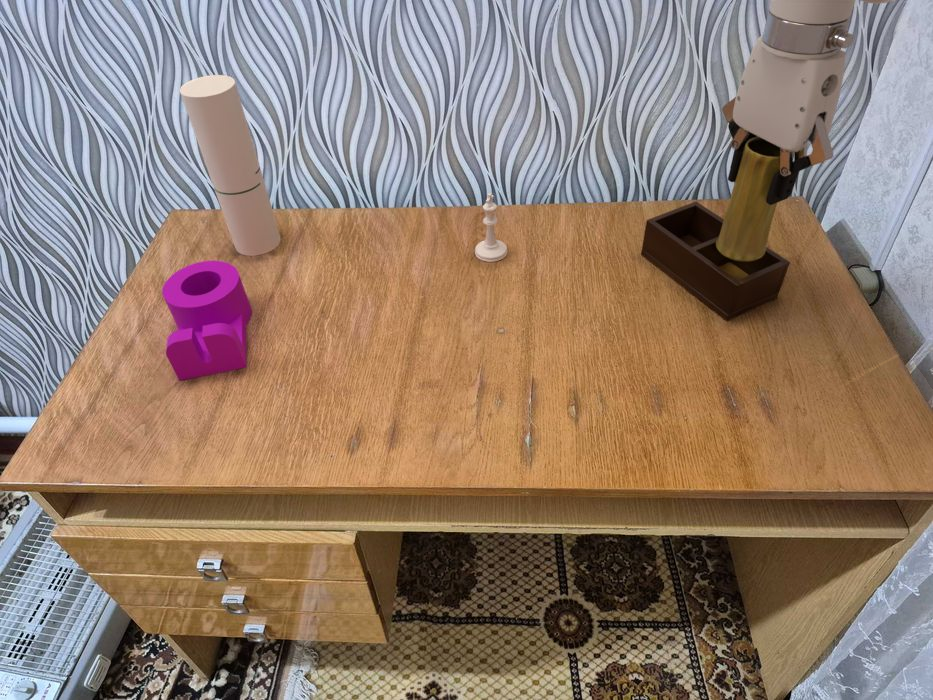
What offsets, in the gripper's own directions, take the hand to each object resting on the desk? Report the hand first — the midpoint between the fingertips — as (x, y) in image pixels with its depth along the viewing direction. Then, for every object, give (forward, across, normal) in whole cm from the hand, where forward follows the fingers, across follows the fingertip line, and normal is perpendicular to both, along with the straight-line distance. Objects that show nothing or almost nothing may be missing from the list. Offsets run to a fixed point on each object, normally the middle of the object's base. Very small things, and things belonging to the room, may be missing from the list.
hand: (757, 188), depth 80 cm
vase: (+9, 0, 0) cm, 9 cm away
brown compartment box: (+16, +4, 0) cm, 17 cm away
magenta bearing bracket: (+16, +29, +64) cm, 72 cm away
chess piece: (+16, +25, +23) cm, 38 cm away
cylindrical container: (+16, +47, +53) cm, 73 cm away
